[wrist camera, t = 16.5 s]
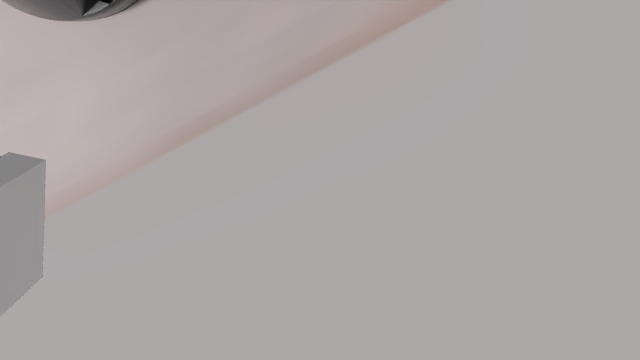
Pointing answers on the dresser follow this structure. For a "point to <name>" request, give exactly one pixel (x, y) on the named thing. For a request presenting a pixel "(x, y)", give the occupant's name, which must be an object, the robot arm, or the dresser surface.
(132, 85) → the dresser surface
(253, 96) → the dresser surface
